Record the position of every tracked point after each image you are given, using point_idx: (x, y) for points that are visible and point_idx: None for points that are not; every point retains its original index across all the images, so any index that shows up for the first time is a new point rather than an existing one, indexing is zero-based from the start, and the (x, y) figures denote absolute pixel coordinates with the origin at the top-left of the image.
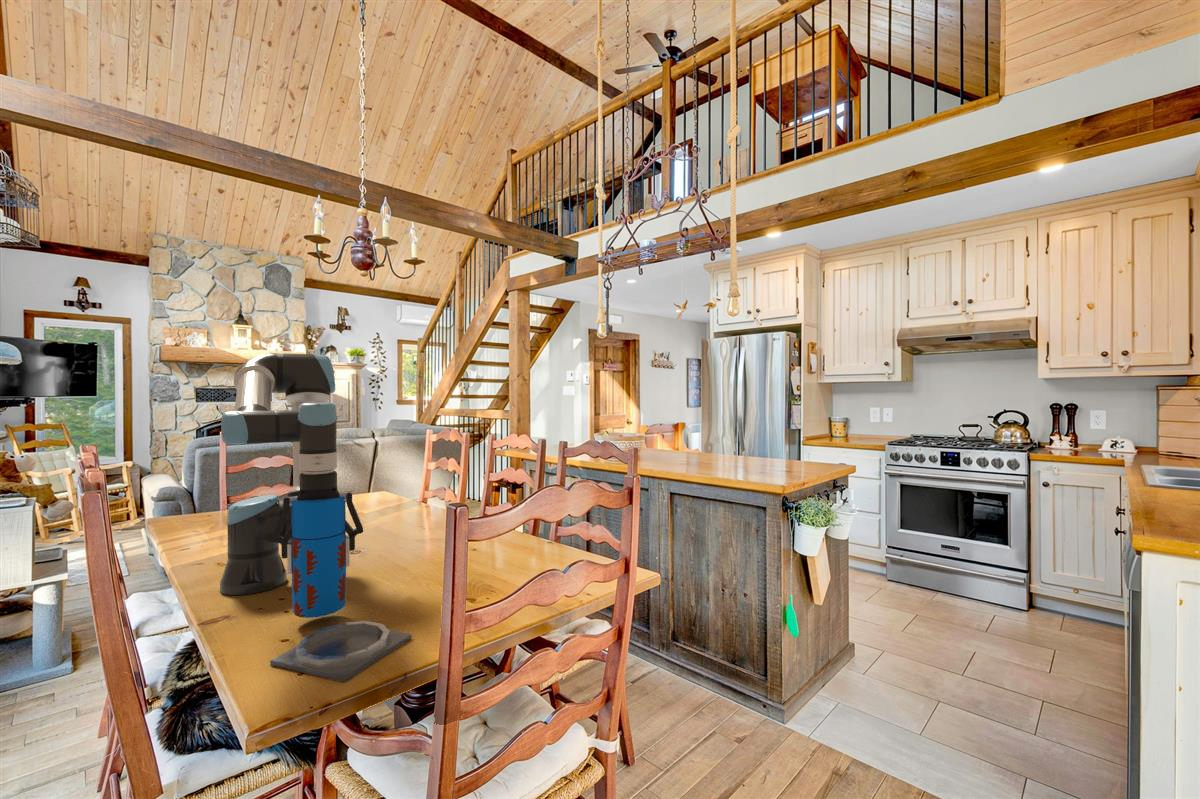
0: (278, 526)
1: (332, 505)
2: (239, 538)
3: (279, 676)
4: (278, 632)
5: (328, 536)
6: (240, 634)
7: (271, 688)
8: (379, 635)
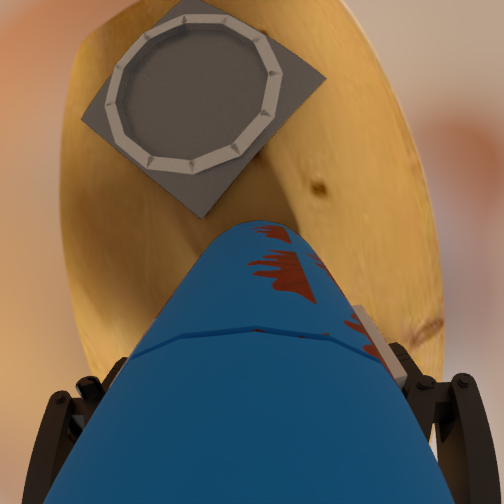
0: (482, 434)
1: None
2: None
3: (297, 38)
4: (337, 238)
5: (160, 347)
6: (398, 256)
7: (300, 10)
8: (127, 122)
